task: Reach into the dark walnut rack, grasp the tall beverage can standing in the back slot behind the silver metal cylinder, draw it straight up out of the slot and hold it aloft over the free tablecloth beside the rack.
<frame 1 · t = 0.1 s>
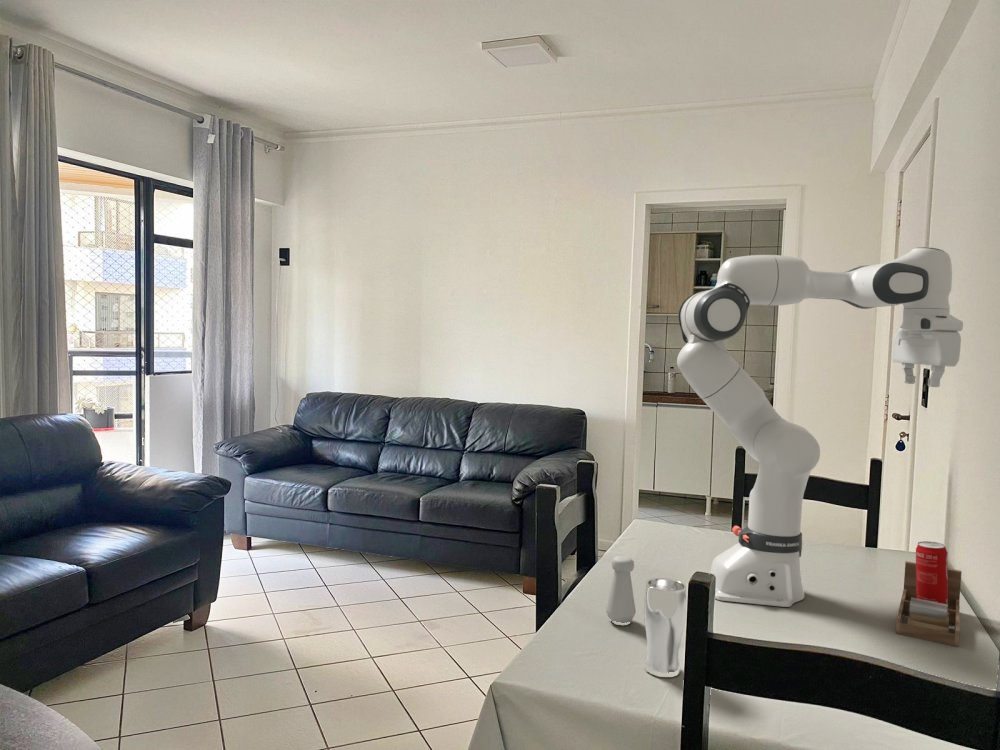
hand: (921, 385, 160), 48 cm above the table, fingers open, 8 cm apart
beer glass: (661, 671, 124), on the table
beverage can: (929, 614, 153), resting in rack
salt shaker: (620, 623, 144), on the table
rack: (928, 621, 149), on the table
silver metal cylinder: (927, 627, 146), resting in rack
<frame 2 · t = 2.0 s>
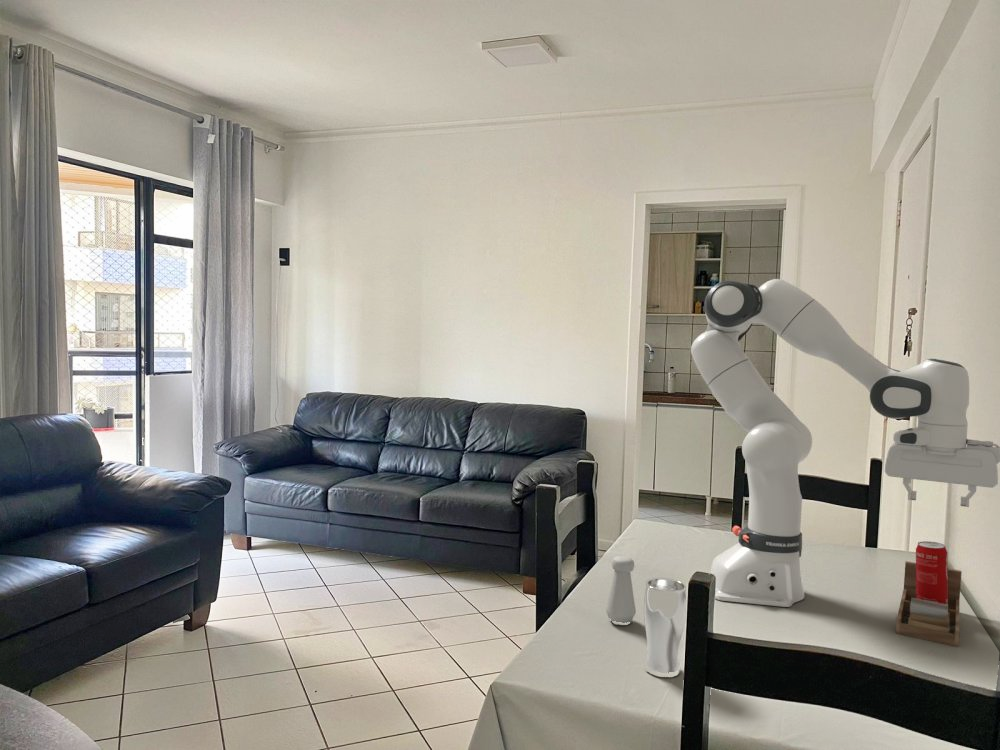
hand: (937, 502, 152), 24 cm above the table, fingers open, 8 cm apart
nothing on the table moved.
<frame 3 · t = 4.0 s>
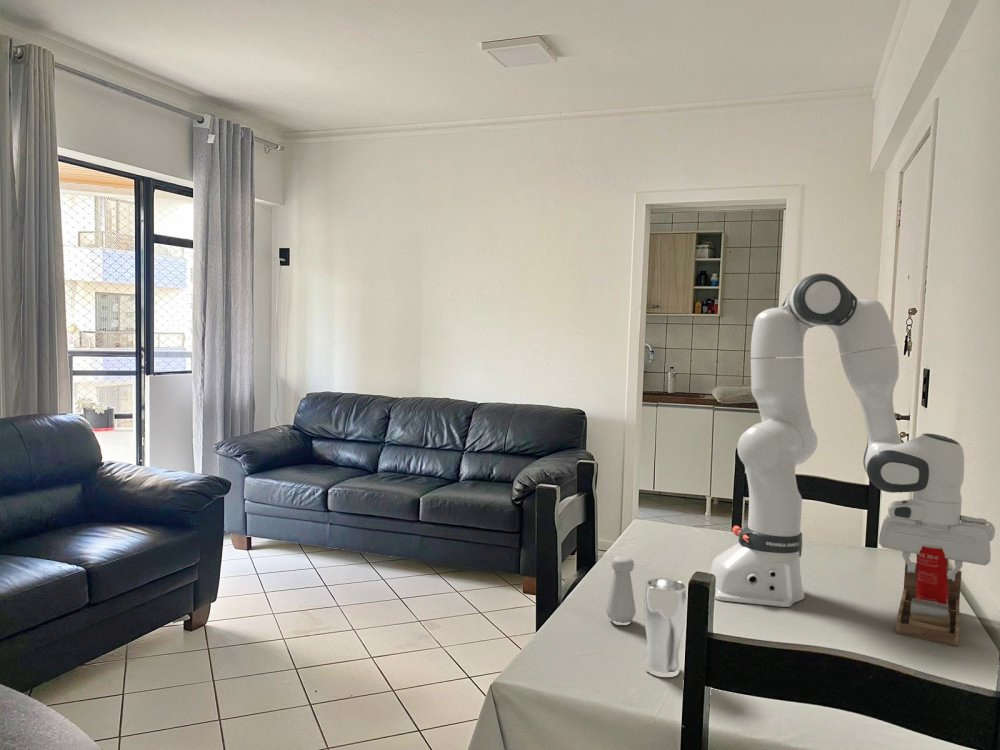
hand: (930, 576, 153), 8 cm above the table, fingers open, 6 cm apart
beverage can: (929, 614, 153), resting in rack, touching gripper
everything else where it was.
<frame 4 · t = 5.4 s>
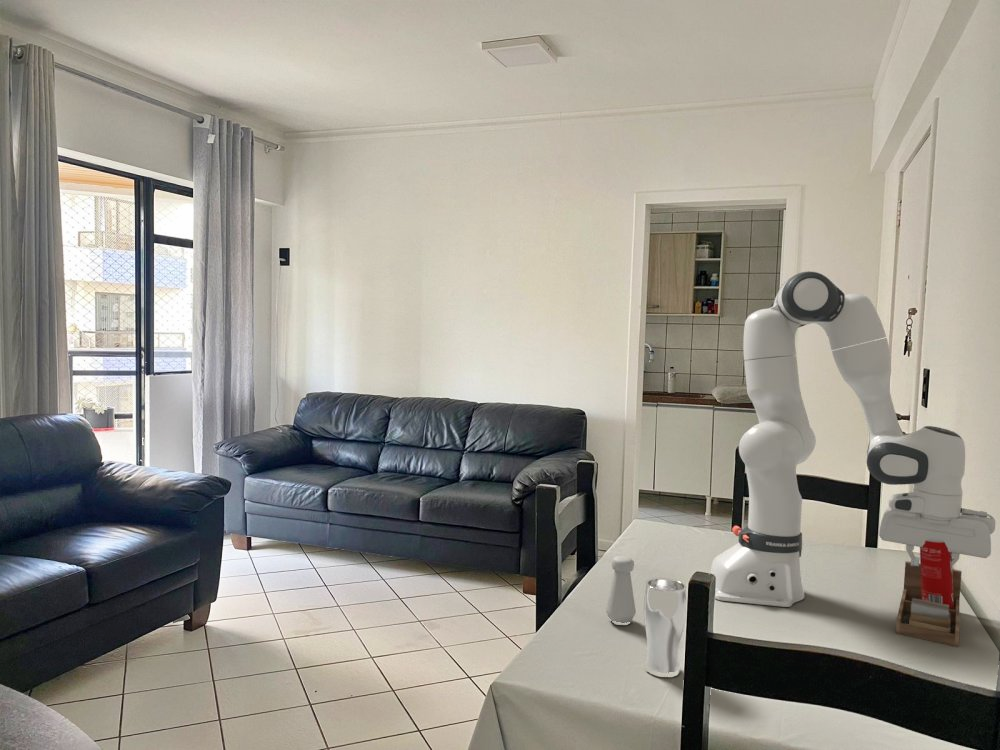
hand: (930, 569, 153), 10 cm above the table, fingers closed on beverage can, 4 cm apart
beverage can: (935, 609, 152), point 1 cm above the table, touching gripper
everything else where it was.
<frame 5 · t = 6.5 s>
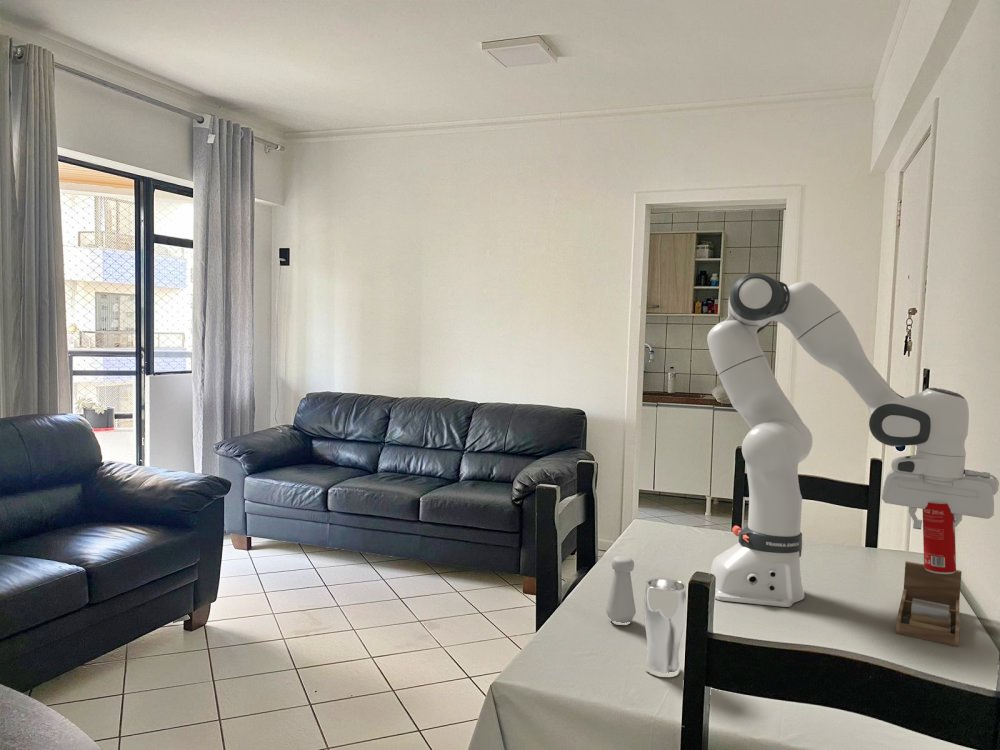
hand: (933, 531, 152), 18 cm above the table, fingers closed on beverage can, 4 cm apart
beverage can: (937, 571, 152), point 9 cm above the table, touching gripper
everything else where it was.
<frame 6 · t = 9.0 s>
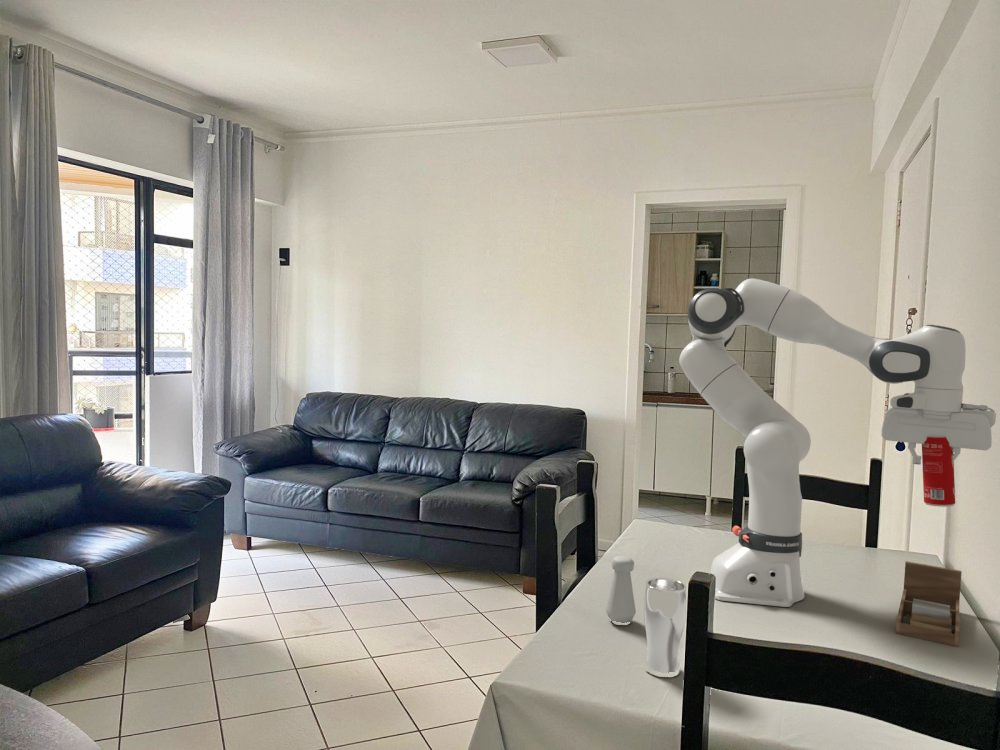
hand: (932, 465, 155), 31 cm above the table, fingers closed on beverage can, 4 cm apart
beverage can: (937, 505, 155), point 23 cm above the table, touching gripper
everything else where it was.
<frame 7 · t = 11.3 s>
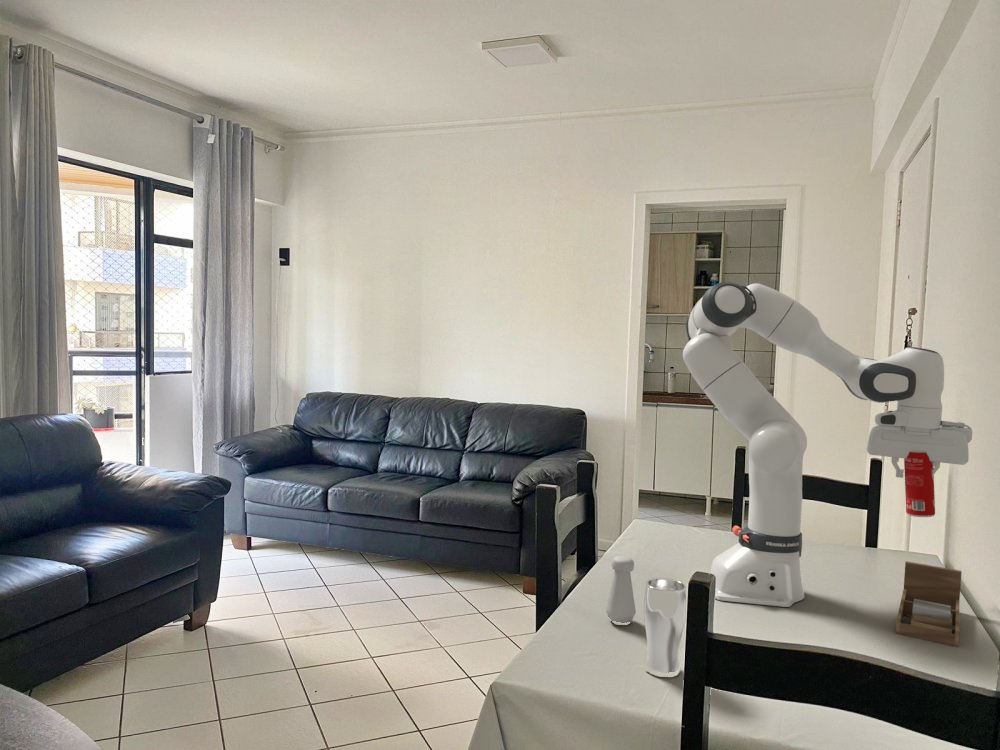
hand: (914, 479, 165), 26 cm above the table, fingers closed on beverage can, 4 cm apart
beverage can: (918, 516, 165), point 18 cm above the table, touching gripper
everything else where it was.
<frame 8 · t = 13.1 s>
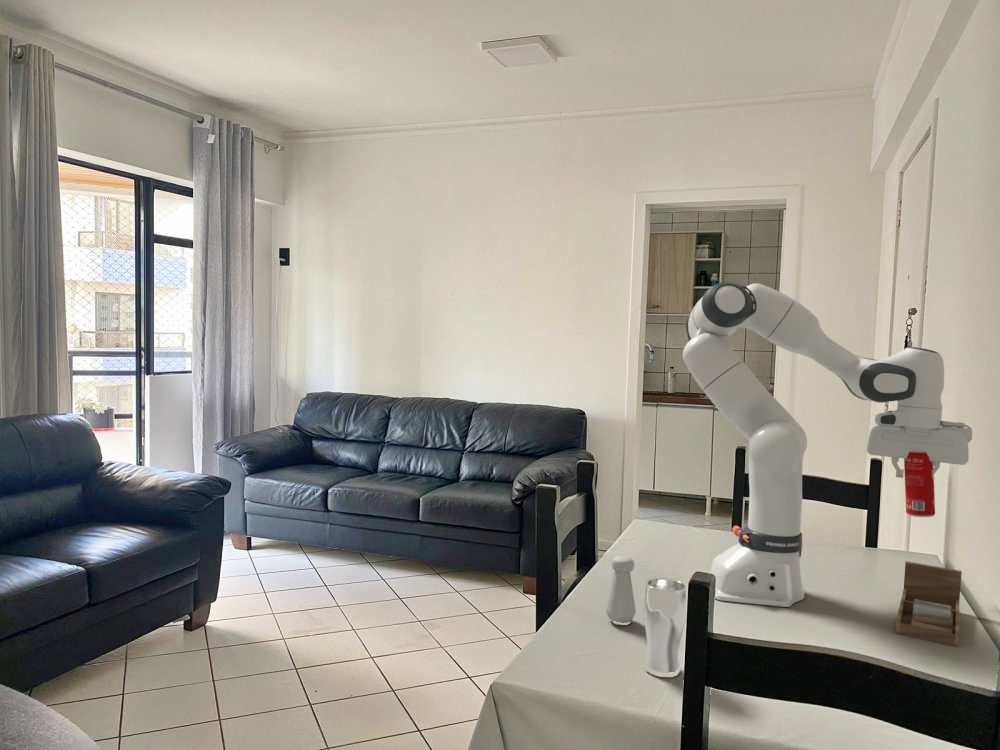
hand: (914, 479, 165), 26 cm above the table, fingers closed on beverage can, 4 cm apart
beverage can: (918, 516, 165), point 18 cm above the table, touching gripper
everything else where it was.
at the end: the gripper is holding beverage can; beverage can inside the target area (2.0 cm from its centre), point 17.6 cm above the table; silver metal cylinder moved 0.8 cm from its start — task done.
